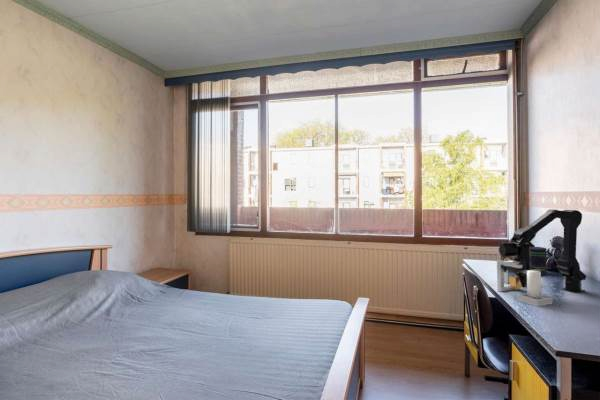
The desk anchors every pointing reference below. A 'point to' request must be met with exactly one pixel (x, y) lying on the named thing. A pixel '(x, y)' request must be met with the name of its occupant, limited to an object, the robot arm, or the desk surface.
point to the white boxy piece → (514, 281)
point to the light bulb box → (508, 274)
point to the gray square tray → (534, 300)
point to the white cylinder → (534, 284)
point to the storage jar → (538, 258)
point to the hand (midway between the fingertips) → (524, 287)
